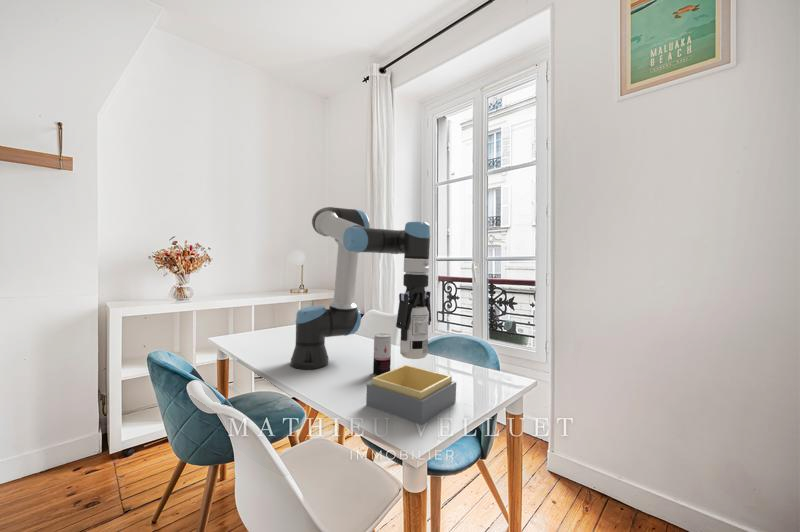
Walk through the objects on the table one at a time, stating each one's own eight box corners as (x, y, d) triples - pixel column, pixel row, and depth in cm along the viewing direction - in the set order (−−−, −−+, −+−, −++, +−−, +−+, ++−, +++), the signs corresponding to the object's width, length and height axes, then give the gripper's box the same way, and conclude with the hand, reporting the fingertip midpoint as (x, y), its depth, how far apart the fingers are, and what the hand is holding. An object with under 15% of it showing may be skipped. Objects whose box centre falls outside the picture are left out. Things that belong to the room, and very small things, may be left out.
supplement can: (397, 358, 105) (398, 307, 104) (403, 351, 113) (405, 304, 112) (424, 360, 103) (426, 309, 102) (429, 353, 111) (430, 305, 110)
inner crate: (371, 404, 106) (372, 378, 106) (404, 388, 120) (405, 364, 120) (420, 421, 96) (421, 392, 96) (450, 401, 110) (451, 376, 110)
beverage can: (389, 371, 141) (390, 333, 140) (390, 376, 134) (392, 337, 134) (372, 371, 140) (373, 333, 139) (373, 376, 133) (374, 337, 133)
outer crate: (366, 407, 106) (366, 384, 106) (404, 388, 122) (404, 368, 122) (421, 427, 94) (422, 401, 94) (455, 404, 110) (456, 381, 110)
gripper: (406, 274, 96) (403, 357, 97) (444, 273, 113) (441, 344, 114) (384, 273, 101) (382, 353, 101) (424, 272, 118) (421, 340, 118)
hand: (413, 348), depth 108 cm, fingers closed on supplement can, 8 cm apart
